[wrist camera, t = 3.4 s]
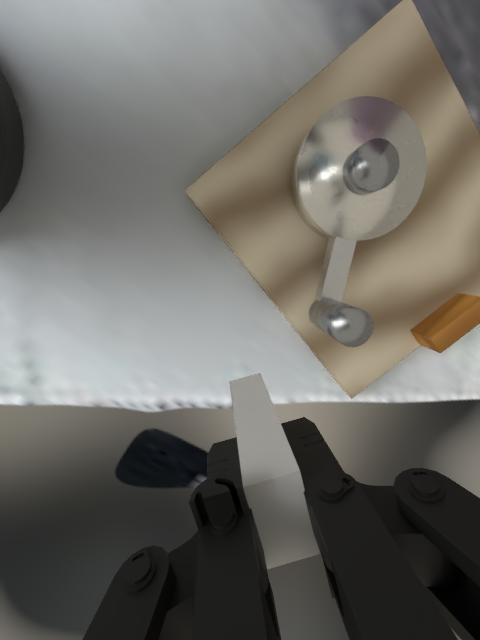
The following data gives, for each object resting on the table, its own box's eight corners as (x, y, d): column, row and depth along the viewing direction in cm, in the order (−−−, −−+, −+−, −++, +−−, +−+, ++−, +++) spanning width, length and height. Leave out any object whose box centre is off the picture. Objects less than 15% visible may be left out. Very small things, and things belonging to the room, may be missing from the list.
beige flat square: (186, 194, 23) (181, 181, 19) (395, 12, 21) (436, -42, 18) (344, 391, 28) (365, 413, 24) (522, 252, 26) (575, 252, 22)
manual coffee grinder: (306, 96, 20) (346, 29, 14) (423, 128, 22) (504, 78, 16) (261, 315, 24) (278, 335, 17) (365, 332, 25) (415, 357, 19)
